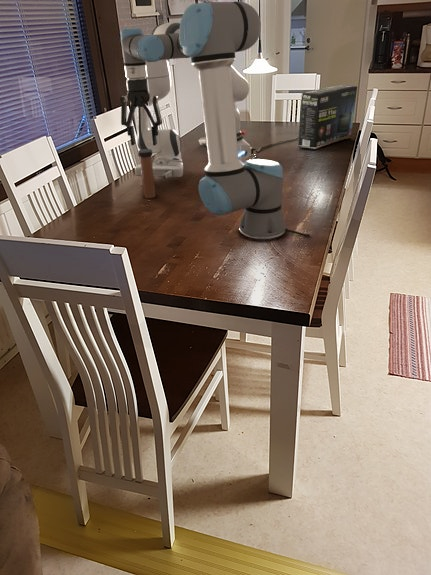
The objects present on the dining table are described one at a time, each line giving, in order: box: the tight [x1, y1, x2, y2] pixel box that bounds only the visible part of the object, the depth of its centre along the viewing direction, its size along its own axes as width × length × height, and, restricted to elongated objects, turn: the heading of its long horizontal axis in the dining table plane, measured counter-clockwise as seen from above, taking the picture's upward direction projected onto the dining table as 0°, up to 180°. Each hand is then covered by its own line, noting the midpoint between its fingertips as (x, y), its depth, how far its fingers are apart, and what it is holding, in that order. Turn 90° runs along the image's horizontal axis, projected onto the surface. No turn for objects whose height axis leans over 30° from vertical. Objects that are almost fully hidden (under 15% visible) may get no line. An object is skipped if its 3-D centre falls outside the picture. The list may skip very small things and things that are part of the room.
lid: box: [137, 149, 153, 158], centre depth 174 cm, size 5×5×2 cm
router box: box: [297, 84, 358, 151], centre depth 238 cm, size 36×11×27 cm, turn 134°
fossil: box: [198, 136, 207, 147], centre depth 249 cm, size 18×11×15 cm
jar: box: [139, 155, 157, 199], centre depth 179 cm, size 4×4×18 cm
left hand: (153, 176), depth 186 cm, fingers open, 8 cm apart
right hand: (144, 144), depth 173 cm, fingers open, 8 cm apart
